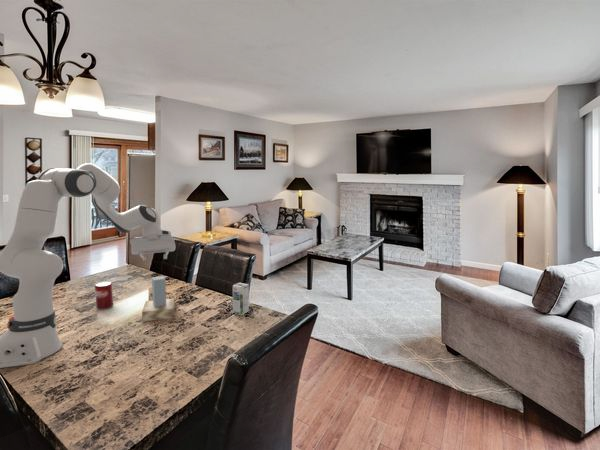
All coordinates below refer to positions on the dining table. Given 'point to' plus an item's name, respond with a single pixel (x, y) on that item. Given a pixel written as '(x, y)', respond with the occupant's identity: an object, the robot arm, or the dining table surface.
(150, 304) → the birch block
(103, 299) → the soda can
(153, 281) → the slate block
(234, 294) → the syrup box
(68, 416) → the dining table surface
